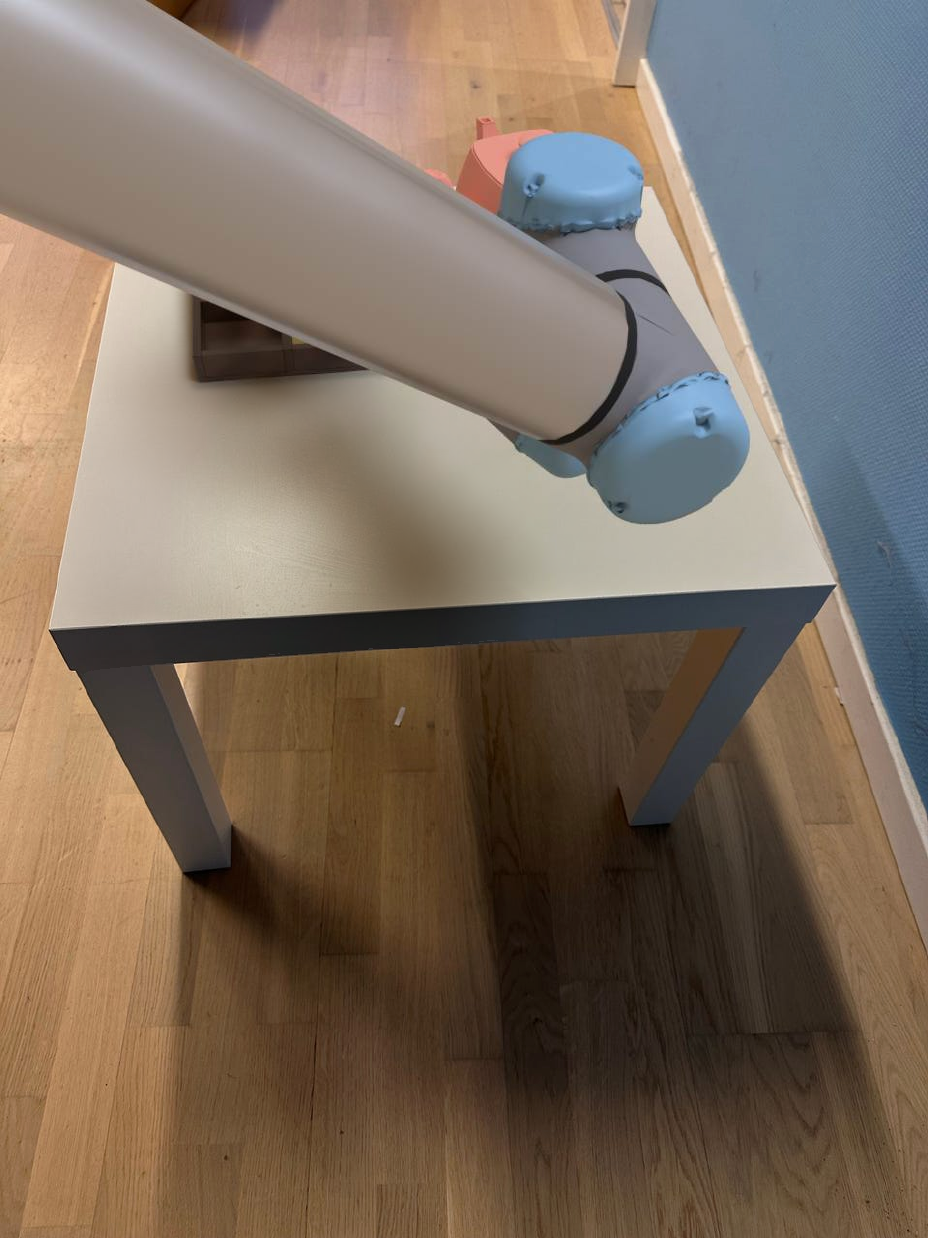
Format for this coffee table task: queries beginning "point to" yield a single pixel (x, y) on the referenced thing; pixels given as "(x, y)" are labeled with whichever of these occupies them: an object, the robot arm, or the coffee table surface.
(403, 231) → the robot arm
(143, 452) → the coffee table surface
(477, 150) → the teapot
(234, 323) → the wooden compartment tray
